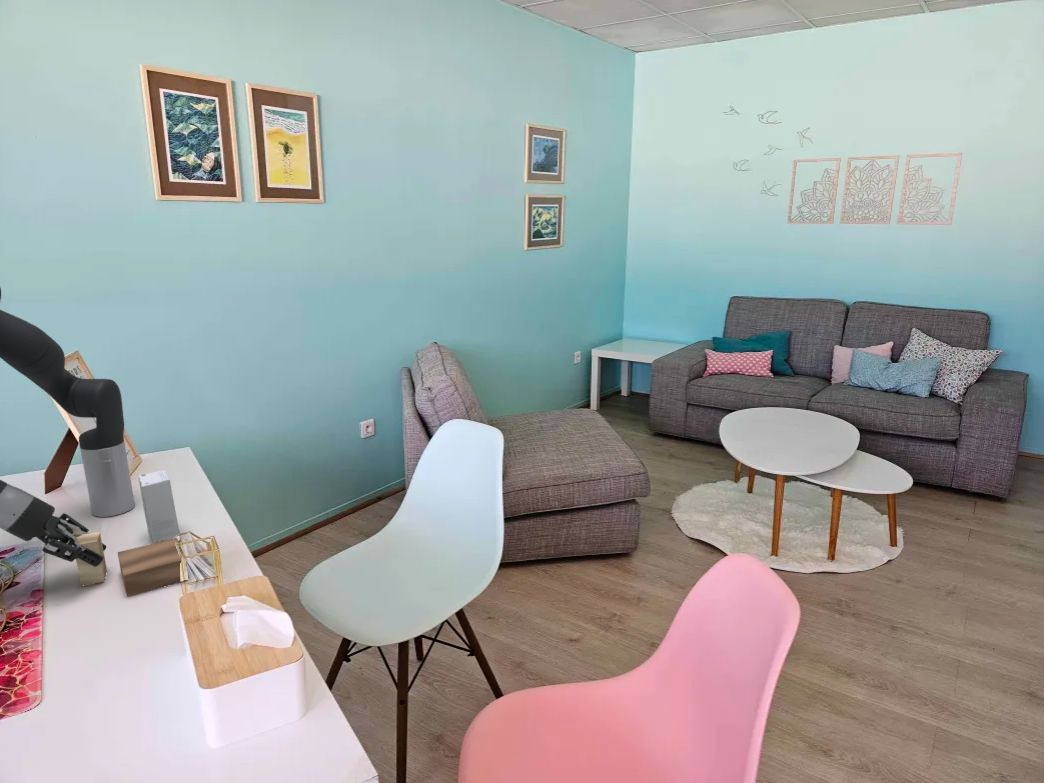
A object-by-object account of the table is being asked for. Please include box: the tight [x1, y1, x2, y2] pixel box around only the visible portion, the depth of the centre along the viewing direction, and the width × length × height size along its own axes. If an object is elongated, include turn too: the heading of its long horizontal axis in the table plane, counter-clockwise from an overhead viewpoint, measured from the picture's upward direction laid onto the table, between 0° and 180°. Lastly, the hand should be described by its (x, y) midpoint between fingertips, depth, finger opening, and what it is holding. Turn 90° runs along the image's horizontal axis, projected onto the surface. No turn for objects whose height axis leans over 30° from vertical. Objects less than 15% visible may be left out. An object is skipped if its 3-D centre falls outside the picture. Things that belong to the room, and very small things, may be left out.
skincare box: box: [138, 469, 181, 544], centre depth 154 cm, size 8×6×15 cm
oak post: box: [73, 531, 108, 587], centre depth 138 cm, size 5×4×9 cm
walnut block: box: [117, 538, 187, 598], centre depth 139 cm, size 11×11×5 cm
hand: (101, 556), depth 138 cm, fingers closed on oak post, 4 cm apart
